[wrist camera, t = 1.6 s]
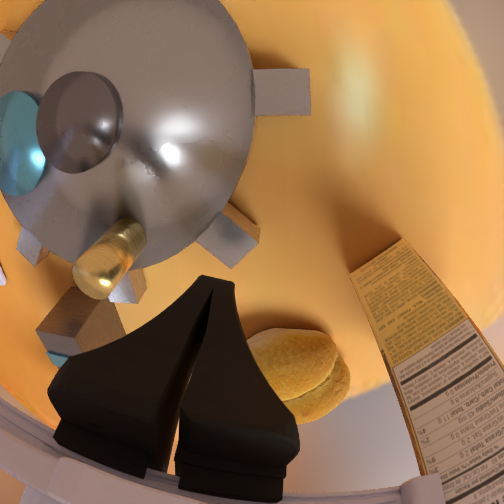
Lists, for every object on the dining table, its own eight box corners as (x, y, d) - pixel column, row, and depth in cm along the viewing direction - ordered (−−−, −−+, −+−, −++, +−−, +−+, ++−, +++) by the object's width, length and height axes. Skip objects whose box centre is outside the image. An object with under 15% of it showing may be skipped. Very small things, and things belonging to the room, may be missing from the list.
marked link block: (92, 336, 21) (65, 382, 17) (70, 286, 19) (33, 331, 14) (130, 341, 21) (105, 392, 16) (109, 288, 19) (74, 340, 14)
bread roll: (315, 302, 18) (322, 350, 14) (357, 377, 21) (364, 418, 18) (206, 344, 20) (195, 388, 17) (267, 405, 24) (265, 443, 20)
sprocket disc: (28, 281, 19) (-12, 324, 14) (-15, 27, 9) (-69, 30, 4) (304, 289, 17) (312, 363, 12) (289, -80, 7) (293, -140, 2)
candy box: (443, 322, 18) (532, 499, 4) (396, 354, 19) (460, 541, 5) (402, 233, 15) (572, 484, 1) (341, 275, 16) (433, 568, 3)
